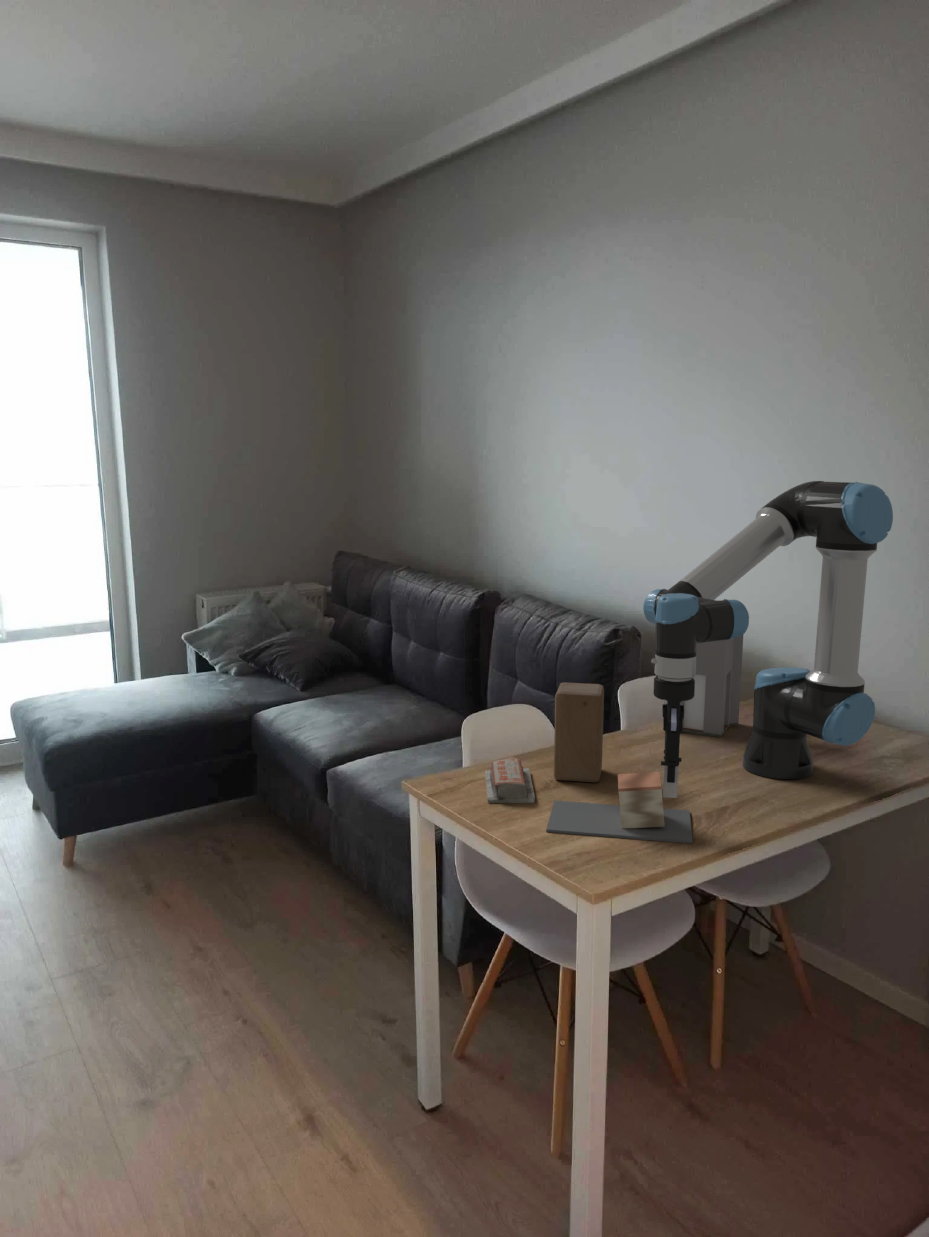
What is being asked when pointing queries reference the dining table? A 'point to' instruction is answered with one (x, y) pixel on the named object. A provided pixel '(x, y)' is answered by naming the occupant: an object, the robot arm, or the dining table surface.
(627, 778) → the cube
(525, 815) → the dining table surface
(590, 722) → the wooden block
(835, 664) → the robot arm
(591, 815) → the rubber mat
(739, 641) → the cabinet
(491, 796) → the packaged product
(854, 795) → the dining table surface
